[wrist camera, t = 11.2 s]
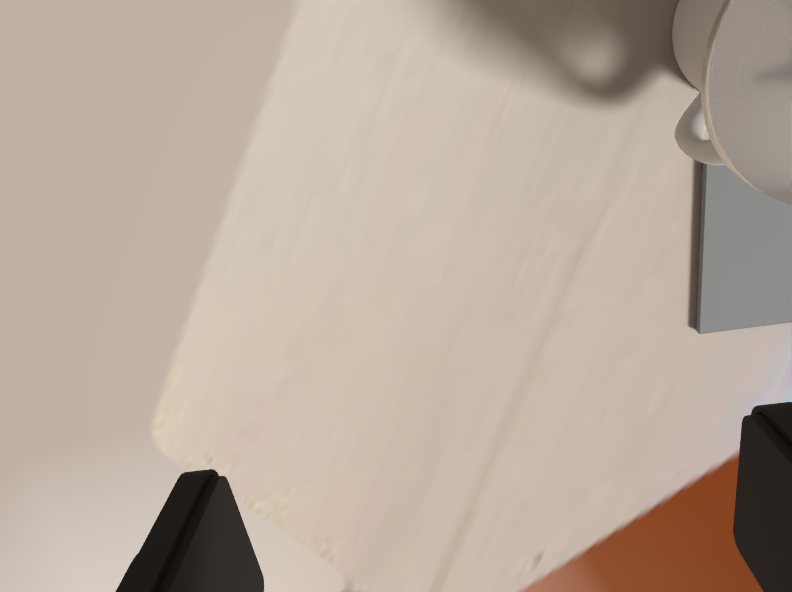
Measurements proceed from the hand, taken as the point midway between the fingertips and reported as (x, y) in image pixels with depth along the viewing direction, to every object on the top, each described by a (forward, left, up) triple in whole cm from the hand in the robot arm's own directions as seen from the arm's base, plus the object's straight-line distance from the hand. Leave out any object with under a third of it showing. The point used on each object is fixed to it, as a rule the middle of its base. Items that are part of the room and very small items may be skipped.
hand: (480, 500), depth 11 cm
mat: (+8, +22, -28) cm, 37 cm away
